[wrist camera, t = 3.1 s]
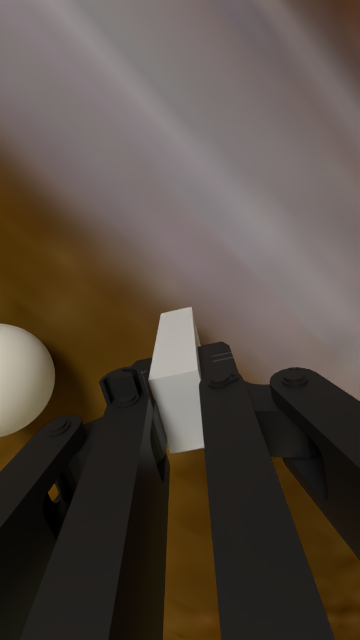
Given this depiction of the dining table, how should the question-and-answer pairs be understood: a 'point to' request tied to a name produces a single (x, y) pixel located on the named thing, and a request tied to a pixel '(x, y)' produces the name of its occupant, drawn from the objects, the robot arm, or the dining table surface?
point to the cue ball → (23, 378)
